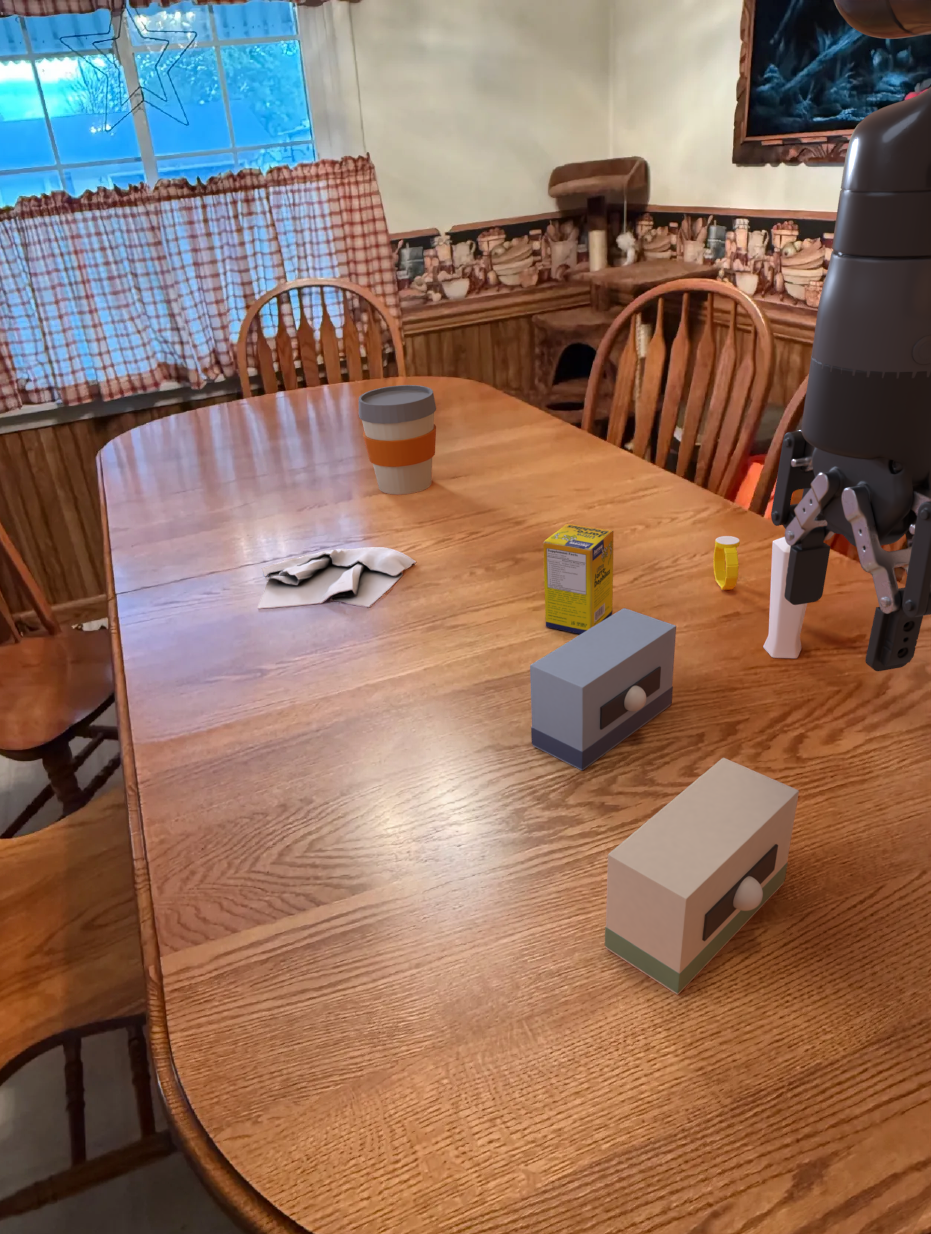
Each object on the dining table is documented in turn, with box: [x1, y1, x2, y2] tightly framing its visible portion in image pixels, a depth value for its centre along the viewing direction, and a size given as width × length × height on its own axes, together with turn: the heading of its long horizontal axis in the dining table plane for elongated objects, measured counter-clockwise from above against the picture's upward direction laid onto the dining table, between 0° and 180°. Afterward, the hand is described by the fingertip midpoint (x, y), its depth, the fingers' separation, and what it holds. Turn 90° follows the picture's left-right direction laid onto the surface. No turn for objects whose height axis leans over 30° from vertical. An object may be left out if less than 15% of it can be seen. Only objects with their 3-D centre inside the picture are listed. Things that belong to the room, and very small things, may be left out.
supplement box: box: [542, 522, 614, 635], centre depth 102 cm, size 6×6×11 cm
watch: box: [712, 535, 741, 591], centre depth 108 cm, size 6×3×6 cm, turn 179°
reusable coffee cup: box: [358, 384, 437, 495], centre depth 147 cm, size 13×13×15 cm
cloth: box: [257, 546, 417, 610], centre depth 121 cm, size 20×22×2 cm
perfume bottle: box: [762, 536, 808, 659], centre depth 92 cm, size 5×4×15 cm
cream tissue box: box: [604, 757, 800, 996], centre depth 63 cm, size 14×8×9 cm, turn 133°
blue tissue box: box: [529, 607, 677, 771], centre depth 84 cm, size 14×8×9 cm, turn 133°
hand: (841, 631), depth 53 cm, fingers open, 8 cm apart
